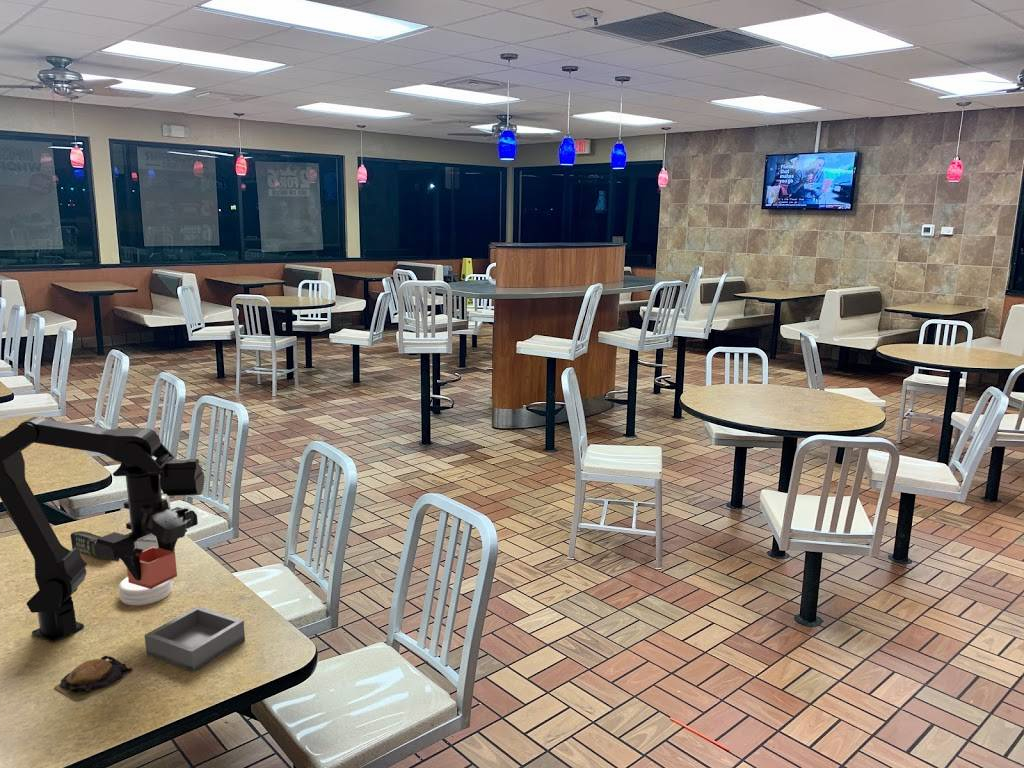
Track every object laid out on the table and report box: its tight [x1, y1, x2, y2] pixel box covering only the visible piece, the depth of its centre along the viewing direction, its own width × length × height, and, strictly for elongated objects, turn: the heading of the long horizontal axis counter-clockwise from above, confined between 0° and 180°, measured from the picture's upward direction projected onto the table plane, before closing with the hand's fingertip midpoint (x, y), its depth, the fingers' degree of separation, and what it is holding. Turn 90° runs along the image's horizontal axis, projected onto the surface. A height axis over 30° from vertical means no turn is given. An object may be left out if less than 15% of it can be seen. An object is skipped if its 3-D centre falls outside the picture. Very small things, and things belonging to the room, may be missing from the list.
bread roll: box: [53, 655, 135, 702], centre depth 132 cm, size 11×8×4 cm
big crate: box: [144, 606, 246, 673], centre depth 142 cm, size 12×12×4 cm
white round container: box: [118, 576, 173, 606], centre depth 162 cm, size 10×10×4 cm
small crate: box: [126, 546, 178, 589], centre depth 147 cm, size 6×6×5 cm
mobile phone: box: [70, 530, 121, 561], centre depth 181 cm, size 5×3×15 cm
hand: (152, 573), depth 147 cm, fingers closed on small crate, 6 cm apart
